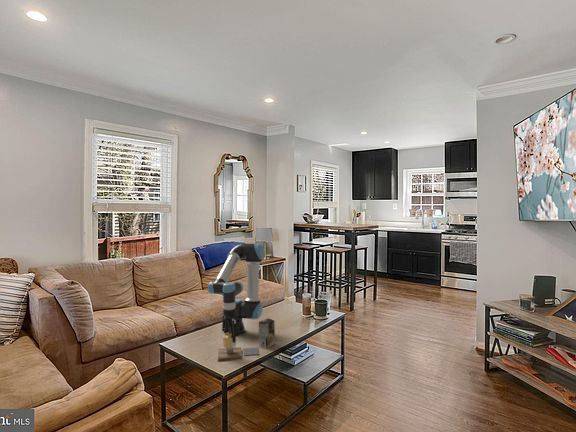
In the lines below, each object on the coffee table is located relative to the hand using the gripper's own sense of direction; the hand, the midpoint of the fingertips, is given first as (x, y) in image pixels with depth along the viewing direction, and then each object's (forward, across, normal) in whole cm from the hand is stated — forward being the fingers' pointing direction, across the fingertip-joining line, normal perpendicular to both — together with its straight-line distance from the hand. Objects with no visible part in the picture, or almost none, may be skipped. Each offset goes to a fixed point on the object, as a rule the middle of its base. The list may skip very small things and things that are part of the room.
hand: (229, 345), depth 208 cm
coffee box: (+6, +2, +26) cm, 27 cm away
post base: (+6, 0, 0) cm, 6 cm away
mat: (+6, +5, +12) cm, 14 cm away
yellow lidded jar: (0, 0, 0) cm, 0 cm away
